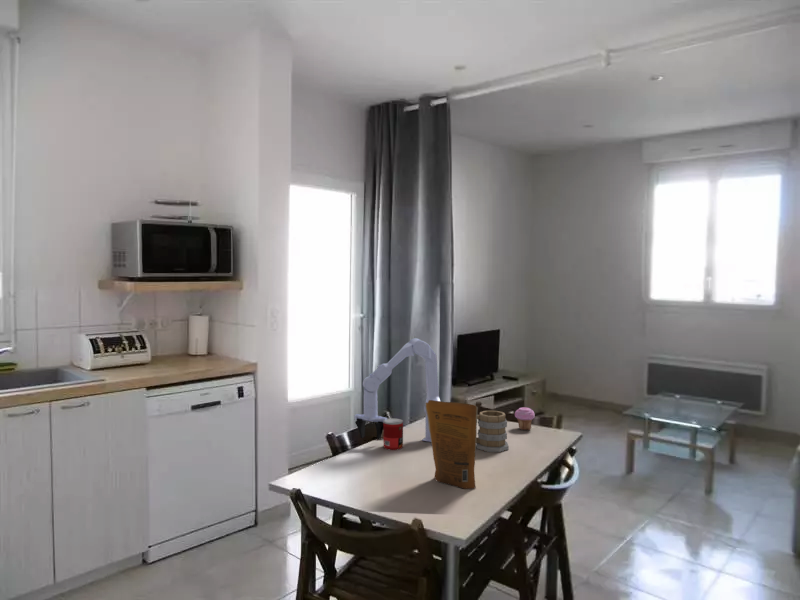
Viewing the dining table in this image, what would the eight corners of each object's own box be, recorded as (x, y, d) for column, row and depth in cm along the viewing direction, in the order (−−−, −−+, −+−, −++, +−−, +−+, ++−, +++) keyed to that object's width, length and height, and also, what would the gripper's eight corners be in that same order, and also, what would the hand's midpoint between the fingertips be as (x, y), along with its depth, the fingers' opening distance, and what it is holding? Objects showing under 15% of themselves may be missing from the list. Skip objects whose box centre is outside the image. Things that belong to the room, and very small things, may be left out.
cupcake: (516, 431, 251) (516, 409, 250) (513, 426, 259) (513, 405, 259) (536, 431, 250) (536, 409, 250) (532, 426, 259) (532, 405, 259)
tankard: (506, 443, 232) (506, 407, 232) (509, 452, 220) (509, 415, 219) (458, 442, 234) (458, 406, 234) (458, 451, 222) (458, 413, 221)
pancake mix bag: (472, 493, 178) (472, 406, 177) (423, 480, 190) (424, 398, 188) (482, 487, 183) (483, 403, 182) (435, 474, 195) (435, 395, 194)
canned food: (402, 450, 223) (402, 423, 223) (382, 450, 223) (382, 422, 223) (403, 444, 231) (403, 418, 230) (383, 444, 231) (383, 418, 230)
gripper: (350, 406, 230) (350, 438, 231) (381, 409, 224) (381, 443, 225) (359, 402, 237) (359, 434, 237) (389, 406, 230) (389, 438, 231)
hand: (370, 438), depth 231 cm, fingers open, 7 cm apart
